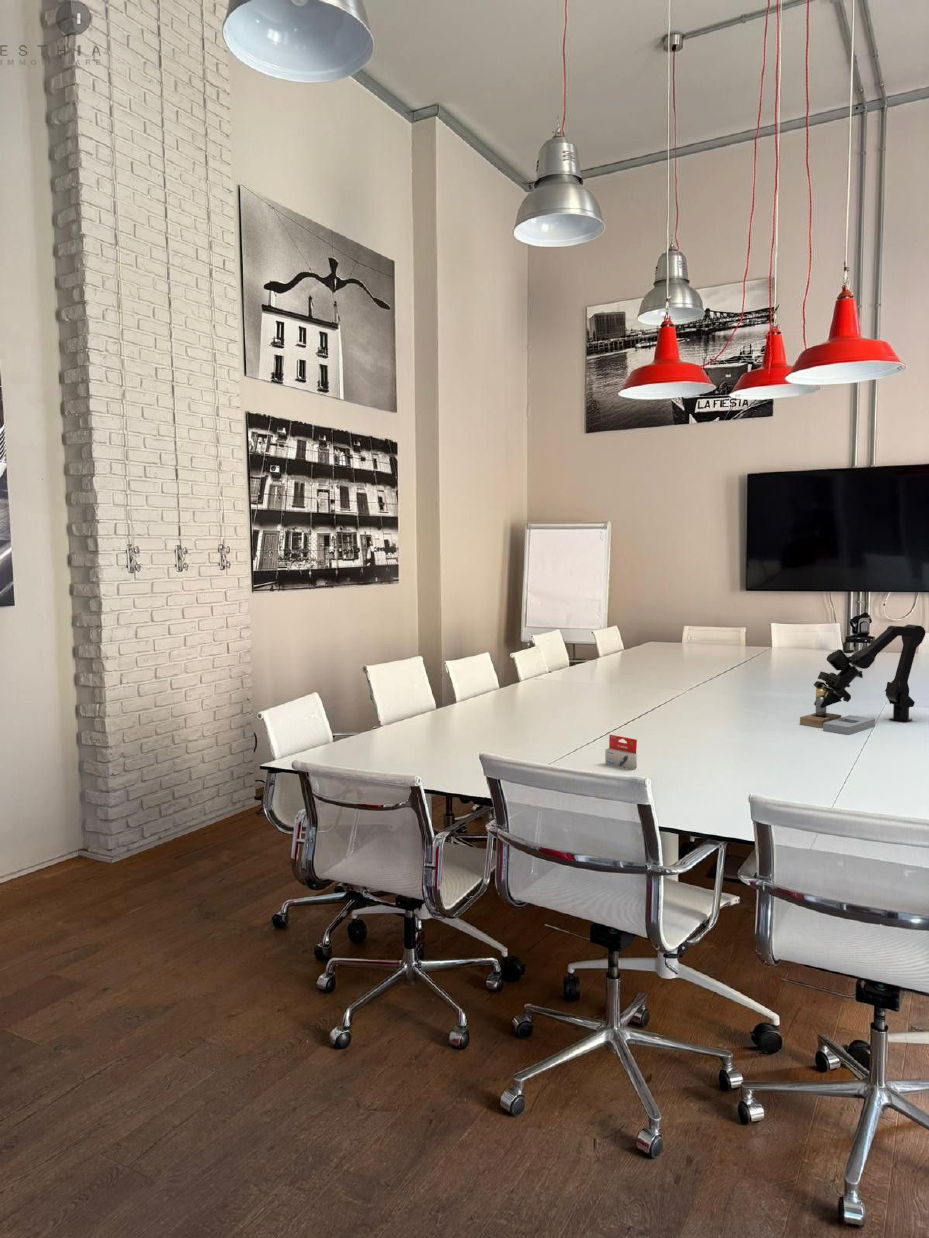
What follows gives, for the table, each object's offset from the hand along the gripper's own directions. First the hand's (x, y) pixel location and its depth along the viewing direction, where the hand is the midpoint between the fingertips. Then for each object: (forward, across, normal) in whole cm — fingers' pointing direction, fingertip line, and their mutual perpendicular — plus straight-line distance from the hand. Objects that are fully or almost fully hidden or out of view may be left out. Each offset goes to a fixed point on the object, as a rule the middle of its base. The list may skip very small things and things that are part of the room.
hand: (817, 706), depth 330 cm
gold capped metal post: (+4, 0, +6) cm, 7 cm away
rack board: (0, +11, +10) cm, 15 cm away
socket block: (+4, 0, +6) cm, 7 cm away
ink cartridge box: (+74, +50, -64) cm, 110 cm away
